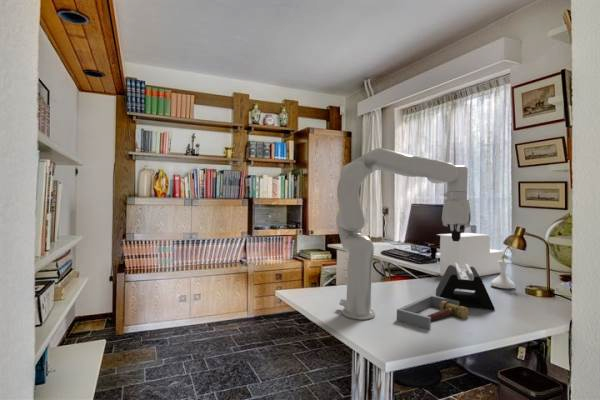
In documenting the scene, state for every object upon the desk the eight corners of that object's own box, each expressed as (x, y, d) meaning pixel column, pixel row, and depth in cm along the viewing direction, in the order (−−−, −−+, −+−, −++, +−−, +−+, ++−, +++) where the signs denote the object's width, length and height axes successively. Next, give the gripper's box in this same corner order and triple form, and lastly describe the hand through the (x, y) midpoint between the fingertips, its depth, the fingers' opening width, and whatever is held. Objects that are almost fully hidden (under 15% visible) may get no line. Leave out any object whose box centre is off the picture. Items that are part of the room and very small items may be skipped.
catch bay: (396, 320, 131) (396, 309, 130) (429, 303, 151) (429, 294, 151) (428, 329, 122) (429, 318, 122) (459, 310, 143) (459, 301, 142)
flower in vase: (510, 291, 174) (511, 242, 173) (486, 286, 183) (487, 239, 182) (520, 287, 182) (521, 240, 182) (496, 283, 191) (498, 238, 190)
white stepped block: (476, 267, 235) (477, 231, 235) (503, 272, 219) (504, 234, 219) (432, 274, 212) (433, 233, 212) (459, 280, 196) (460, 237, 196)
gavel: (435, 319, 124) (412, 311, 133) (435, 331, 125) (412, 322, 133) (468, 306, 136) (445, 299, 144) (468, 317, 136) (446, 310, 144)
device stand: (436, 304, 152) (437, 270, 152) (436, 291, 173) (436, 261, 173) (494, 311, 144) (495, 275, 144) (486, 296, 165) (487, 265, 165)
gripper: (435, 195, 143) (434, 239, 144) (473, 196, 133) (472, 243, 133) (442, 196, 149) (441, 238, 149) (479, 196, 138) (478, 242, 139)
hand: (455, 240), depth 141 cm, fingers closed
